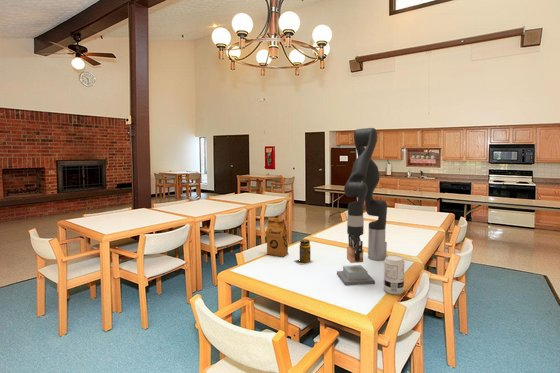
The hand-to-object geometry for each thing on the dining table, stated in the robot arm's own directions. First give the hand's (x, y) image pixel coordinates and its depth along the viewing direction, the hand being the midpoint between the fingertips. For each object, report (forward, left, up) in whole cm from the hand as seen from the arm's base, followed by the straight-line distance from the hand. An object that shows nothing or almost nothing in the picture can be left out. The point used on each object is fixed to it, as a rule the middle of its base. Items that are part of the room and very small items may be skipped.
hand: (354, 258), depth 160 cm
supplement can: (-12, +16, -10) cm, 22 cm away
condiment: (+20, -28, -10) cm, 36 cm away
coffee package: (+33, -43, -10) cm, 55 cm away
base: (0, 0, -10) cm, 10 cm away
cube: (0, 0, -1) cm, 1 cm away
